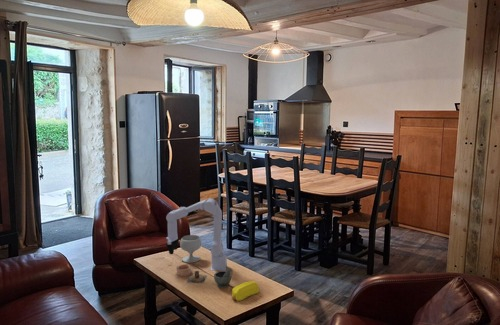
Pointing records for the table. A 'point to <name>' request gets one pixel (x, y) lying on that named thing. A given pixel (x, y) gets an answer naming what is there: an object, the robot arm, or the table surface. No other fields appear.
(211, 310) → the table surface
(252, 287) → the yellow rounded block
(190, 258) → the chalice
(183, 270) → the bowl
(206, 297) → the table surface
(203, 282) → the mat
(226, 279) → the mortar and pestle
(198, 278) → the lid
